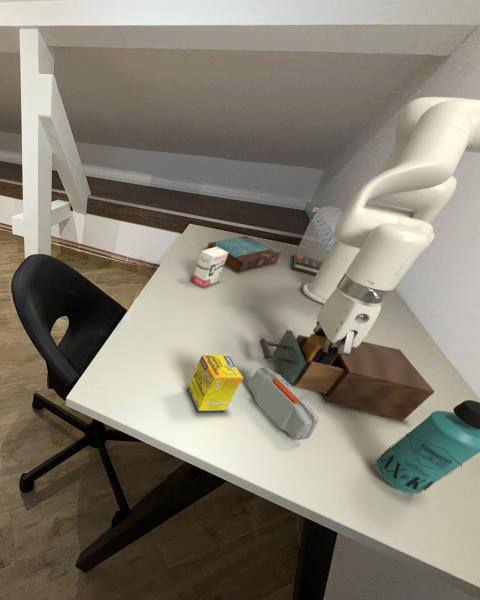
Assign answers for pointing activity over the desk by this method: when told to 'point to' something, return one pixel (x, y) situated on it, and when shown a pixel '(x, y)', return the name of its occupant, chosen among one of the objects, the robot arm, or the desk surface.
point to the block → (314, 346)
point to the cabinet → (379, 382)
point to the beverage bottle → (433, 448)
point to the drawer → (302, 364)
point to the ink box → (209, 266)
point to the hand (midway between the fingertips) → (316, 355)
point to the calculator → (306, 264)
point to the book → (246, 253)
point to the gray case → (283, 404)
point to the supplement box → (214, 383)
